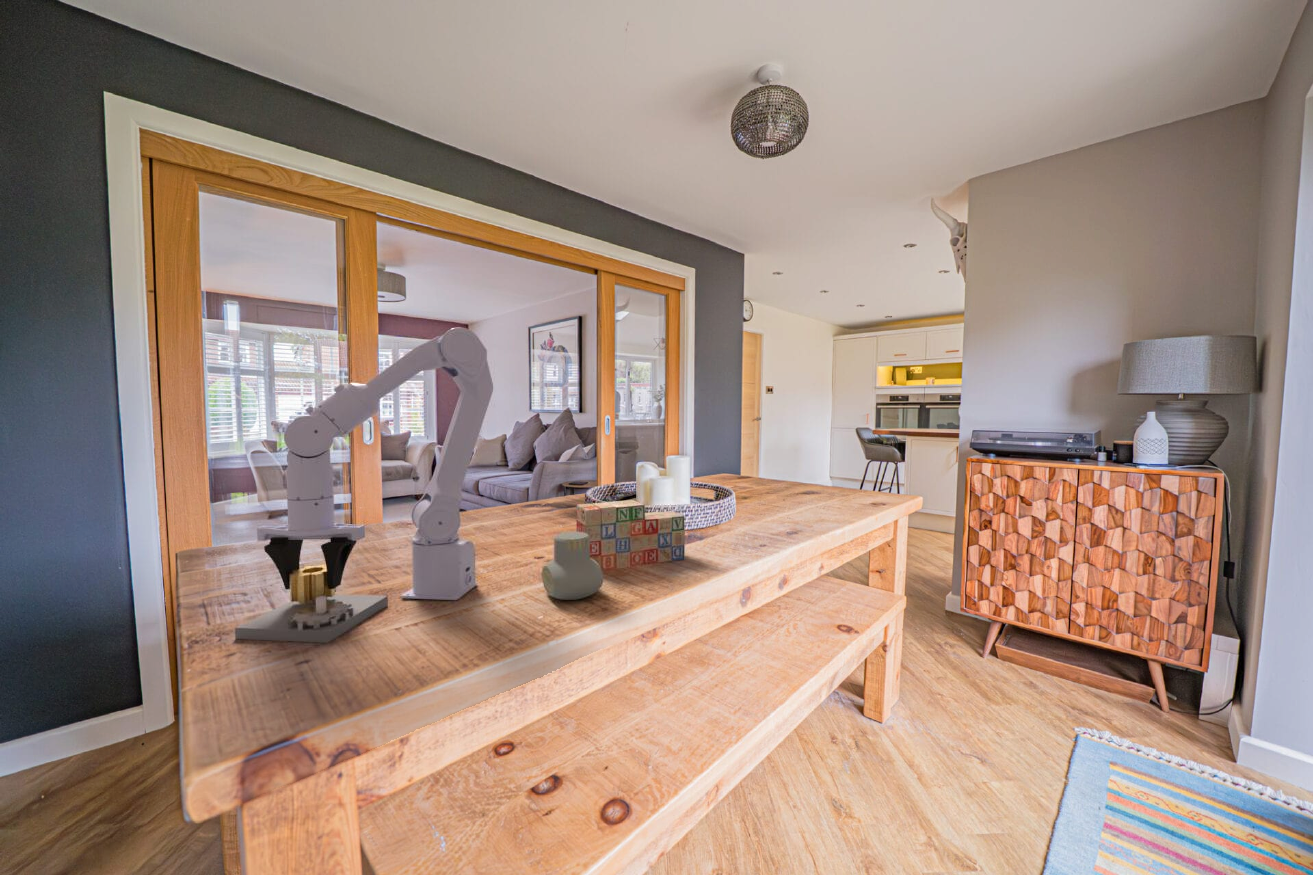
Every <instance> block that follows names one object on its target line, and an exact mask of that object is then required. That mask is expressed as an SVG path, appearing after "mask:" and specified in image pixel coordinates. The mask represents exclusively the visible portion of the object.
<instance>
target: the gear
mask: <svg viewBox="0 0 1313 875" xmlns="http://www.w3.org/2000/svg"><path fill="white" fill-rule="evenodd" d="M350 615H353V607H352V604H351V603H347V604H343V602H340V601H338V602H336V603H328V602H326V612H324V613H316V606H313V605H310V606H307V608H305V609H303V610H296V611H294V615H289V616H288V617H287V618H288V624H289V628H290V629H292V628H296V627H297V628H298V630H299V631H303V630H305V629H310V628H314V630H317V629H320V628H321V627H324V626H328V625H330V626H334V625H337V622H340V621H346V620H348V619H349V616H350Z"/></svg>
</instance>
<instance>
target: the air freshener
mask: <svg viewBox="0 0 1313 875" xmlns="http://www.w3.org/2000/svg"><path fill="white" fill-rule="evenodd" d="M603 574H604V573H603V570H601V568H600V566H599V564H598V563H597V562H596V561H595V560H594V559H592V558H590V536H589V535H588V534H586V533H583V532H577V531H566V532H565V531H564V532H560V533H558V534H556V535H555V536H554V537H553V559H552V560H550V561H549V562H547V563H546V564H545V565H543V567H542V570H541V579H542V584H543V587H544V590H545V591H546V593H547V595H549V596H550V597H553V598H555V599H556V600H561V601H575V600H581V599H586V598H587V597H590V596H591V595H594V594H595V593H596V592H598V591H599V590H600V589H601V588H602V586H603V583H604V576H603Z"/></svg>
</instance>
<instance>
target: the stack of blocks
mask: <svg viewBox="0 0 1313 875" xmlns="http://www.w3.org/2000/svg"><path fill="white" fill-rule="evenodd" d="M645 506H646V505H645V504H644V503H641V502H640V501H639V502H638V501H636V500H633V499H630V500H616V501H615V500H614V501H607V502H605V501H604V502H595V503H594V502H593V503H583V504H582V503H580V504H577V505H576V532H583V533H586V534H588V535H589V536H590V558H592V559H594V560H595V561H596V562H597V563H598V564H599V566H600V568H601V570H602V571H607V570H616V569H624V568H629V567H630V568H631V567H635V566H636V567H637V566H643V565H650V563H652V564H657V563H658V564H659V563H664V562H665V563H666V562H671V561H672V562H674V561H680V560H681V561H682V560H685V551H686V549H685V548H686V547H685V543H686V530H685V528H686V527H685V515H683V514H680V513H678V512H676V511H672V510H667V511H665V510H664V511H653V512H646V507H645Z"/></svg>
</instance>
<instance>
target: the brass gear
mask: <svg viewBox="0 0 1313 875" xmlns="http://www.w3.org/2000/svg"><path fill="white" fill-rule="evenodd" d="M289 579H290V589H289V602H295V601H296V602H298V601H299V604H300V603H306V602H310V601H312V602H313V601H316V598H317V597H320V596H326V598H327V597H333V596H334V595H335V594H336V593H337V587H336V588H334V589H328V585H327V568H326V563H325V564H319V565H318V564H317V565H307V566H304V567H302V568H300V569H295V570H293V571H291V574H289Z"/></svg>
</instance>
